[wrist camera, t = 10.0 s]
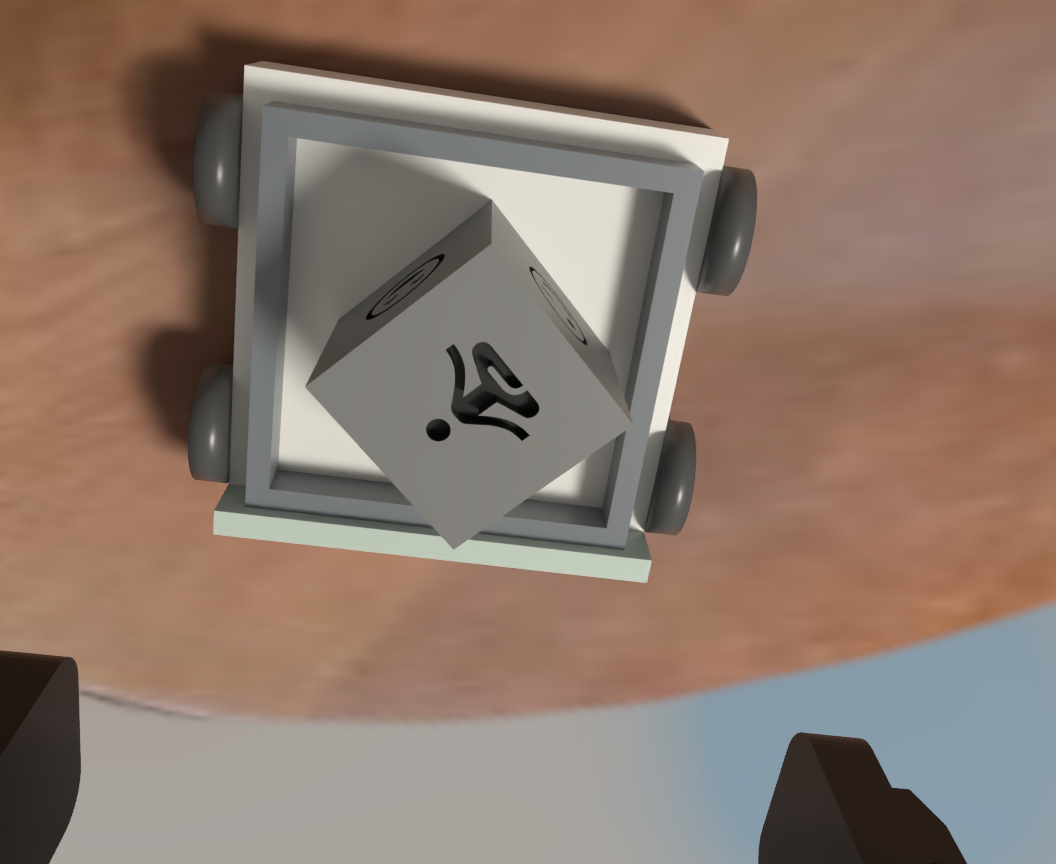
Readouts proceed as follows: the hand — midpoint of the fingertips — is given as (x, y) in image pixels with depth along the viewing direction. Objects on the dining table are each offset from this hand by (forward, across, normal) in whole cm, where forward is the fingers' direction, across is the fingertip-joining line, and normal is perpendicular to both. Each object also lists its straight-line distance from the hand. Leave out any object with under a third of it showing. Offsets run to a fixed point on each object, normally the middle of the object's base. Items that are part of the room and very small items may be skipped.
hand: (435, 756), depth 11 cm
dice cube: (+16, 0, 0) cm, 16 cm away
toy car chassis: (+18, 0, 0) cm, 18 cm away
